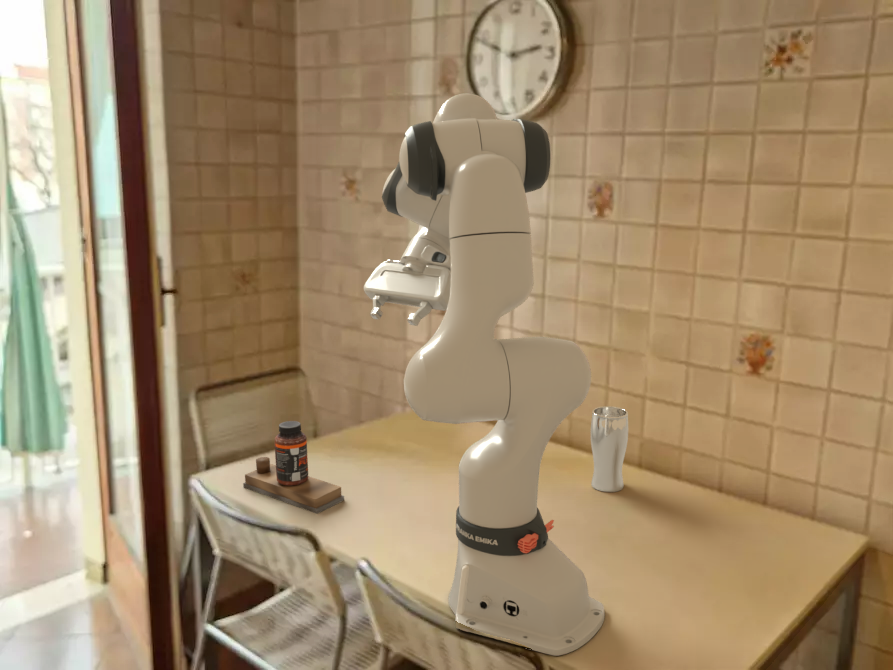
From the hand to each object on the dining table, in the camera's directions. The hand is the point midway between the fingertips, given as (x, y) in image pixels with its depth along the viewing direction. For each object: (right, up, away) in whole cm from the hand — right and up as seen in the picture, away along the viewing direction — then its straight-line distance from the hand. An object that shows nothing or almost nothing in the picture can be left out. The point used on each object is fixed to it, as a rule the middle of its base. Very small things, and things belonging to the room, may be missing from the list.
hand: (392, 320), depth 159 cm
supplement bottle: (-19, -31, -2) cm, 36 cm away
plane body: (-19, -33, -1) cm, 38 cm away
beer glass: (+41, -32, 0) cm, 52 cm away
